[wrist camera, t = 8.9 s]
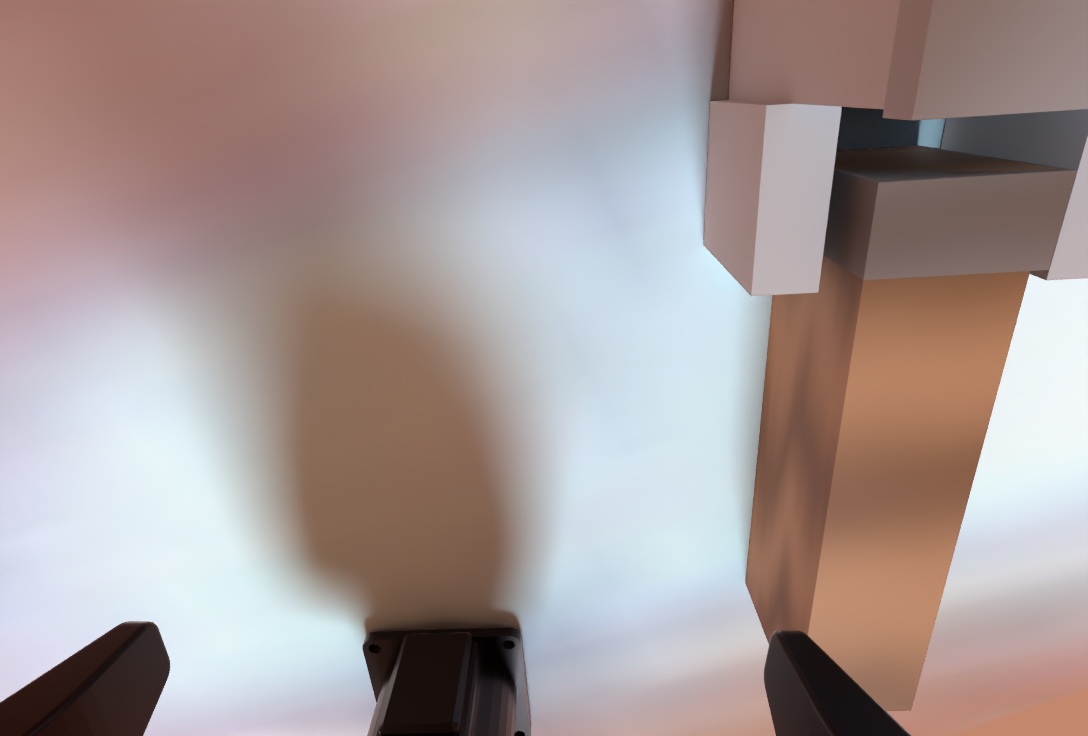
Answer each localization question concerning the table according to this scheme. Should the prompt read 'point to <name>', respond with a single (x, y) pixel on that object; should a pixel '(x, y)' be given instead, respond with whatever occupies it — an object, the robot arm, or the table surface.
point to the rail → (890, 398)
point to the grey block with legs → (885, 113)
